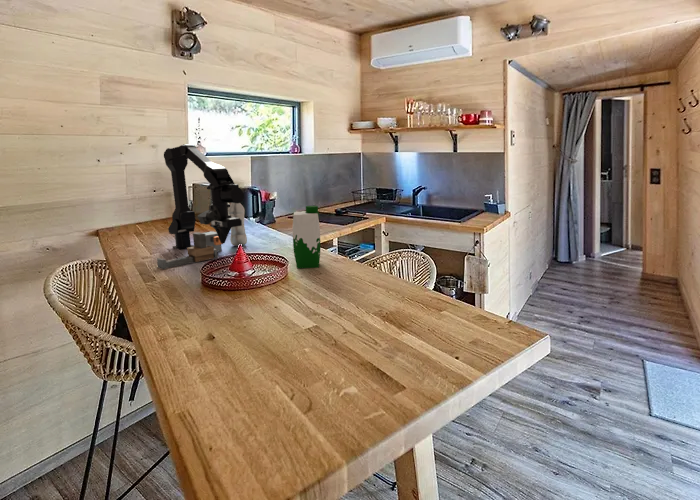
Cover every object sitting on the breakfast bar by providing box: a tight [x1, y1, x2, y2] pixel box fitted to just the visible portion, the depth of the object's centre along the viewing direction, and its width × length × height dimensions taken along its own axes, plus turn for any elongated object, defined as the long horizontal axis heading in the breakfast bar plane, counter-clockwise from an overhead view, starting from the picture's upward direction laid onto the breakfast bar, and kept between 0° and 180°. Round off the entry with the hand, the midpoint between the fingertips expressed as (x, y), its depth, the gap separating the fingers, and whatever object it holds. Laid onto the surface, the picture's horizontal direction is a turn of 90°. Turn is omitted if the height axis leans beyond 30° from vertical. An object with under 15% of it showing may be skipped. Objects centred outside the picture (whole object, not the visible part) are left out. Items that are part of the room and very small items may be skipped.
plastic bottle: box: [228, 202, 248, 247], centre depth 190 cm, size 6×7×20 cm
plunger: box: [210, 236, 223, 246], centre depth 180 cm, size 7×3×3 cm, turn 48°
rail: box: [156, 249, 219, 270], centre depth 165 cm, size 4×21×3 cm, turn 138°
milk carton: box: [292, 205, 321, 269], centre depth 156 cm, size 9×9×20 cm
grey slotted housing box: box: [202, 231, 223, 252], centre depth 183 cm, size 6×7×7 cm
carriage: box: [186, 231, 215, 263], centre depth 168 cm, size 6×7×9 cm
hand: (222, 243), depth 176 cm, fingers closed
